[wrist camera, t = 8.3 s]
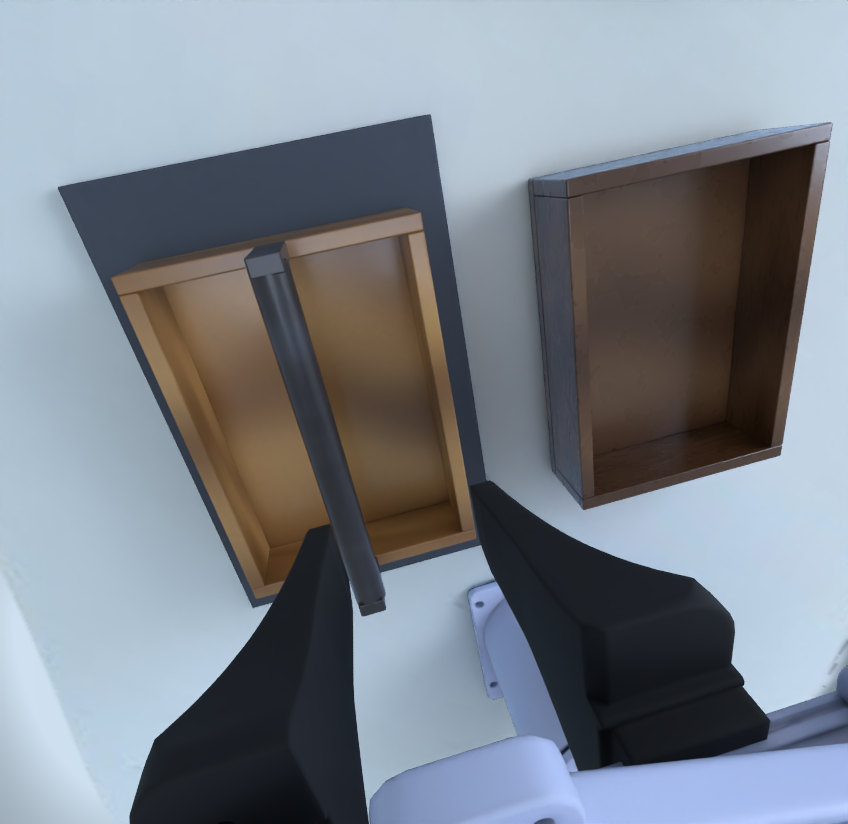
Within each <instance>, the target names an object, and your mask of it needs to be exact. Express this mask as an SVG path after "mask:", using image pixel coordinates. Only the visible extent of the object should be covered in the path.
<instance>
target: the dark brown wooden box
mask: <svg viewBox="0 0 848 824" xmlns="http://www.w3.org/2000/svg"><path fill="white" fill-rule="evenodd" d="M831 131H832V123H831V122H828V123H819V124H810V125H800V126H791V127H782V128H772V129H765V130H764V129H763V130H755V131H751V132H746V133H741V134H737V135H732V136H727V137H723V138H718V139H713V140H709V141H704V142H699V143H695V144H690V145H685V146H681V147H676V148H671V149H667V150H662V151H657V152H653V153H648V154H643V155H639V156H634V157H629V158H625V159H620V160H615V161H611V162H606V163H601V164H597V165H592V166H587V167H583V168H578V169H573V170H569V171H564V172H559V173H555V174H550V175H545V176H541V177H536V178H531V179H529V180H528V182H529V194H530V207H531V219H532V231H533V243H534V255H535V267H536V279H537V292H538V304H539V316H540V328H541V340H542V352H543V364H544V377H545V389H546V401H547V413H548V425H549V437H550V449H551V461H552V471H553V472H554V474H555V475H556V476H557V477H558V479H559V480H560V481H561V483H562V484H563V485H564V486H565V488H566V489H567V490H568V491H569V493H570V494H571V495H572V496H573V498H574V499H575V500H576V501H577V503H578V504H579V505H580V506H581V508H582V509H583V510H586V509H589V508H593V507H597V506H600V505H604V504H607V503H611V502H615V501H618V500H622V499H625V498H629V497H633V496H636V495H640V494H643V493H647V492H651V491H654V490H658V489H661V488H665V487H669V486H672V485H676V484H679V483H683V482H687V481H690V480H694V479H697V478H701V477H705V476H708V475H712V474H715V473H719V472H723V471H726V470H730V469H733V468H737V467H741V466H744V465H748V464H751V463H755V462H758V461H762V460H766V459H769V458H773V457H776V456H780V455H781V449H782V443H783V437H784V430H785V424H786V418H787V411H788V405H789V399H790V392H791V386H792V380H793V373H794V367H795V361H796V354H797V348H798V342H799V335H800V329H801V323H802V316H803V310H804V304H805V297H806V291H807V285H808V278H809V272H810V266H811V259H812V253H813V247H814V240H815V234H816V228H817V221H818V215H819V209H820V202H821V196H822V190H823V183H824V177H825V171H826V164H827V158H828V152H829V145H830V141H829V140H830V137H831Z"/></svg>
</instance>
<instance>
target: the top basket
mask: <svg viewBox="0 0 848 824" xmlns="http://www.w3.org/2000/svg"><path fill="white" fill-rule="evenodd" d="M423 229H424V228H423V222H422V216H421V213H420V212H418V211H415V210H412V209H409V208H407V207H405V208H400V209H395V210H391V211H386V212H381V213H376V214H372V215H367V216H362V217H357V218H352V219H348V220H343V221H338V222H333V223H329V224H324V225H319V226H314V227H310V228H305V229H300V230H295V231H291V232H286V233H281V234H276V235H272V236H267V237H262V238H257V239H253V240H248V241H243V242H238V243H234V244H229V245H224V246H219V247H215V248H210V249H205V250H200V251H196V252H191V253H186V254H181V255H177V256H172V257H167V258H162V259H158V260H153V261H148V262H143V263H140V264H138V265H136V266H134V267H132V268H130V269H128V270H125V271H123V272H121V273H119V274H117V275H115V276H113V277H111V280H112V282H113V285H114V287H115V289H116V291H117V293H118V295H120V300H121V302H122V305H123V307H124V309H125V311H126V313H127V316H128V318H129V320H130V322H131V324H132V327H133V329H134V331H135V333H136V335H137V338H138V340H139V342H140V344H141V346H142V349H143V351H144V353H145V355H146V357H147V360H148V362H149V364H150V366H151V368H152V371H153V373H154V375H155V377H156V379H157V382H158V384H159V386H160V388H161V391H162V393H163V395H164V397H165V399H166V402H167V404H168V406H169V408H170V410H171V413H172V415H173V417H174V419H175V421H176V424H177V426H178V428H179V430H180V432H181V435H182V437H183V439H184V441H185V443H186V446H187V448H188V450H189V452H190V454H191V457H192V459H193V461H194V463H195V465H196V468H197V470H198V472H199V474H200V476H201V479H202V481H203V483H204V485H205V488H206V490H207V492H208V494H209V496H210V499H211V501H212V503H213V505H214V507H215V510H216V512H217V514H218V516H219V518H220V521H221V523H222V525H223V527H224V529H225V532H226V534H227V536H228V538H229V540H230V543H231V545H232V547H233V549H234V551H235V554H236V556H237V558H238V560H239V562H240V565H241V567H242V569H243V571H244V573H245V576H246V578H247V580H248V582H249V584H250V587H251V589H252V591H253V593H254V595H255V597H256V599H258V598H262V597H265V596H269V595H273V594H276V593H279V591H280V589H281V587H282V585H283V583H284V581H285V579H286V577H287V575H288V573H289V571H290V569H291V567H292V565H293V563H294V561H295V559H296V556H297V554H298V552H299V550H300V547H301V545H302V543H303V540H304V538H305V535H306V533H307V532H308V530H309V529H312V528H316V527H320V526H323V525H327V524H330V525H331V528H332V531H333V534H334V537H335V539H336V542H337V545H338V548H339V551H340V554H341V557H342V560H343V563H344V566H345V568H346V571H347V574H348V577H349V581H350V584H351V587H352V590H353V593H354V596H355V599H356V602H357V604H358V605H359V609H360V612H361V615H362V616H367V615H370V614H374V613H377V612H381V611H384V610H386V605H385V589H384V586H383V582H382V579H381V573H380V566H379V565H382V564H386V563H389V562H393V561H397V560H400V559H404V558H408V557H411V556H415V555H419V554H422V553H426V552H430V551H433V550H437V549H441V548H444V547H448V546H451V545H455V544H459V543H462V542H466V541H470V540H473V539H476V532H475V528H474V527H475V526H474V520H473V515H472V509H471V503H470V497H469V491H468V485H467V479H466V474H465V468H464V462H463V456H462V450H461V444H460V439H459V433H458V427H457V421H456V415H455V409H454V403H453V398H452V392H451V386H450V380H449V374H448V368H447V363H446V357H445V351H444V345H443V339H442V333H441V327H440V322H439V316H438V310H437V304H436V298H435V292H434V287H433V281H432V275H431V269H430V263H429V257H428V251H427V246H426V240H425V234H424V231H422V230H423Z"/></svg>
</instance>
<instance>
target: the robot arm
mask: <svg viewBox="0 0 848 824" xmlns="http://www.w3.org/2000/svg"><path fill="white" fill-rule="evenodd" d="M470 491H471V497H472V502H473V508H474V513H475V519H476V524H477V530H478V535H479V541H480V543H481V546H482V549H483V551H484V554H485V557H486V559H487V562H488V565H489V567H490V570H491V572H492V574H493V576H494V578H495V580H496V582H493V583H490V584H486V585H483V586H479V587H476V588H473V589H472V590H470V591H469V593H468V599H469V604H470V609H471V614H472V619H473V625H474V630H475V635H476V640H477V645H478V650H479V655H480V660H481V666H482V671H483V676H484V681H485V686H486V691H487V695H488V697H489V698H490V699H492V700H495V699H499V698H502V697H504V699H505V702H506V704H507V707H508V710H509V713H510V716H511V719H512V721H513V724H514V727H515V730H516V733H517V735H518V736H517V737H511V738H507V739H504V740H501V741H498V742H494V743H491V744H488V745H485V746H482V747H479V748H476V749H472V750H469V751H466V752H463V753H460V754H457V755H453V756H450V757H447V758H444V759H441V760H438V761H435V762H431V763H428V764H425V765H422V766H419V767H416V768H412V769H409V770H406V771H404V772H402V773H400V774H398V775H396V776H394V777H392V778H390V779H388V780H386V781H385V783H384V784H383V785H382V786H381V787H380V788H379V790H378V791H377V792H376V793H375V794H374V795H373V797H372V798H371V799H370V809H369V819H370V824H848V665H847V666H846V667H844V668H843V669H842V670H841V672H840V673H839V675H838V678H837V685H836V691H835V692H832V693H829V694H826V695H823V696H820V697H817V698H814V699H811V700H808V701H805V702H801V703H798V704H795V705H792V706H789V707H786V708H783V709H780V710H777V711H774V712H771V713H768V714H765V713H764V712H763V711H762V710H761V708H760V707H759V706H758V705H757V704H756V702H755V701H754V700H753V699H752V698H751V696H750V695H749V694H748V693H747V692H746V690H745V689H744V688H743V687H742V686H744V679H743V677H742V676H741V674H740V673H739V672H738V671H737V670H736V668H735V667H734V666H733V665H732V664H731V660H732V652H733V644H734V636H735V627H734V621H733V619H732V617H731V615H730V613H729V612H728V611H727V610H726V609H725V608H724V607H723V605H722V604H721V603H720V602H719V601H718V600H717V599H716V598H715V597H714V596H713V595H712V594H711V593H710V592H709V591H708V590H706V589H705V588H704V587H703V586H702V585H701V584H699V583H698V582H697V581H696V580H695V579H694V578H691V577H686V576H682V575H678V574H673V573H669V572H664V571H660V570H656V569H652V568H649V567H645V566H642V565H639V564H635V563H632V562H629V561H626V560H623V559H620V558H618V557H615V556H612V555H610V554H607V553H605V552H602V551H600V550H597V549H595V548H593V547H591V546H588V545H586V544H584V543H582V542H580V541H578V540H576V539H574V538H572V537H570V536H568V535H566V534H565V533H563V532H561V531H559V530H558V529H556V528H554V527H553V526H551V525H550V524H548V523H546V522H545V521H543V520H542V519H540V518H539V517H537V516H536V515H534V514H533V513H532V512H530V511H529V510H527V509H526V508H525V507H523V506H522V505H521V504H519V503H518V502H517V501H515V500H514V499H513V498H511V497H510V496H509V495H508V494H506V493H505V492H504V491H503V490H502V489H500V488H499V487H498V486H497V485H496V484H495V483H493V482H492V481H490V480H489V481H485V482H482V483H478V484H474V485H471V486H470ZM480 601H481V602H480ZM477 602H479V603H477ZM130 824H369V821H368V814H367V806H366V798H365V790H364V783H363V775H362V766H361V758H360V749H359V741H358V732H357V722H356V713H355V704H354V686H353V608H352V600H351V592H350V585H349V577H348V574H347V571H346V568H345V566H344V563H343V560H342V557H341V554H340V551H339V548H338V545H337V542H336V539H335V537H334V534H333V531H332V528H331V525H330V524H327V525H323V526H320V527H316V528H312V529H309V530H308V532H307V533H306V535H305V538H304V540H303V543H302V545H301V547H300V550H299V552H298V554H297V556H296V559H295V561H294V563H293V565H292V567H291V569H290V571H289V573H288V575H287V577H286V579H285V581H284V583H283V585H282V587H281V589H280V591H279V593H278V594H277V596H276V598H275V600H274V601H273V603H272V605H271V607H270V609H269V610H268V612H267V614H266V615H265V617H264V618H263V620H262V621H261V623H260V625H259V626H258V628H257V629H256V630H255V632H254V633H253V635H252V636H251V638H250V639H249V641H248V642H247V643H246V645H245V646H244V647H243V648H242V650H241V651H240V652H239V653H238V655H237V656H236V657H235V658H234V660H233V661H232V662H231V663H230V665H229V666H228V667H227V668H226V669H225V671H224V672H223V673H222V674H221V675H220V676H219V677H218V678H217V680H216V681H215V682H214V683H213V684H212V685H211V686H210V687H209V688H208V689H207V690H206V691H205V692H204V694H203V695H202V696H201V697H200V698H199V699H198V700H197V701H196V702H195V703H194V704H193V705H192V706H191V707H190V708H189V709H188V710H187V711H185V712H184V713H183V714H182V715H181V716H180V717H179V718H178V719H177V720H176V721H175V722H174V723H172V724H171V725H170V726H169V727H168V728H167V729H166V730H165V731H164V732H163V733H162V734H160V735H159V736H158V737H157V738H156V739H155V740H154V743H153V745H152V748H151V750H150V753H149V755H148V758H147V760H146V763H145V766H144V769H143V772H142V775H141V779H140V782H139V785H138V789H137V792H136V795H135V799H134V802H133V805H132V809H131V812H130Z"/></svg>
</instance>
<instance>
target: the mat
mask: <svg viewBox="0 0 848 824" xmlns="http://www.w3.org/2000/svg"><path fill="white" fill-rule="evenodd" d="M58 190H59V192H60V194H61V196H62V198H63V200H64V202H65V205H66V207H67V209H68V211H69V213H70V215H71V218H72V220H73V222H74V224H75V226H76V228H77V230H78V233H79V235H80V237H81V239H82V241H83V243H84V246H85V248H86V250H87V252H88V254H89V256H90V258H91V261H92V263H93V265H94V267H95V269H96V271H97V274H98V276H99V278H100V280H101V282H102V284H103V286H104V289H105V291H106V293H107V295H108V297H109V299H110V301H111V304H112V306H113V308H114V310H115V312H116V314H117V317H118V319H119V321H120V323H121V325H122V327H123V329H124V332H125V334H126V336H127V338H128V340H129V342H130V345H131V347H132V349H133V351H134V353H135V355H136V357H137V360H138V362H139V364H140V366H141V368H142V370H143V373H144V375H145V377H146V379H147V381H148V383H149V385H150V388H151V390H152V392H153V394H154V396H155V398H156V400H157V403H158V405H159V407H160V409H161V411H162V413H163V416H164V418H165V420H166V422H167V424H168V426H169V428H170V431H171V433H172V435H173V437H174V439H175V441H176V444H177V446H178V448H179V450H180V452H181V454H182V456H183V459H184V461H185V463H186V465H187V467H188V469H189V472H190V474H191V476H192V478H193V480H194V482H195V484H196V487H197V489H198V491H199V493H200V495H201V497H202V500H203V502H204V504H205V506H206V508H207V510H208V512H209V515H210V517H211V519H212V521H213V523H214V525H215V527H216V530H217V532H218V534H219V536H220V538H221V540H222V543H223V545H224V547H225V549H226V551H227V553H228V555H229V558H230V560H231V562H232V564H233V566H234V568H235V571H236V573H237V575H238V577H239V579H240V581H241V583H242V586H243V588H244V590H245V592H246V594H247V596H248V599H249V601H250V603H251V605H252V607H253V608H254V607H258V606H262V605H265V604H269V603H272V602H273V601H274V600H275V598H276V596H277V594H278V593H276V594H273V595H269V596H265V597H262V598H258V599H256V597H255V595H254V593H253V591H252V589H251V587H250V584H249V582H248V580H247V578H246V576H245V573H244V571H243V569H242V567H241V565H240V562H239V560H238V558H237V556H236V554H235V551H234V549H233V547H232V545H231V543H230V540H229V538H228V536H227V534H226V532H225V529H224V527H223V525H222V523H221V521H220V518H219V516H218V514H217V512H216V510H215V507H214V505H213V503H212V501H211V499H210V496H209V494H208V492H207V490H206V488H205V485H204V483H203V481H202V479H201V476H200V474H199V472H198V470H197V468H196V465H195V463H194V461H193V459H192V457H191V454H190V452H189V450H188V448H187V446H186V443H185V441H184V439H183V437H182V435H181V432H180V430H179V428H178V426H177V424H176V421H175V419H174V417H173V415H172V413H171V410H170V408H169V406H168V404H167V402H166V399H165V397H164V395H163V393H162V391H161V388H160V386H159V384H158V382H157V379H156V377H155V375H154V373H153V371H152V368H151V366H150V364H149V362H148V360H147V357H146V355H145V353H144V351H143V349H142V346H141V344H140V342H139V340H138V338H137V335H136V333H135V331H134V329H133V327H132V324H131V322H130V320H129V318H128V316H127V313H126V311H125V309H124V307H123V305H122V302H121V300H120V295H118V293H117V291H116V289H115V287H114V285H113V282H112V280H111V277H113V276H115V275H117V274H119V273H121V272H123V271H125V270H128V269H130V268H132V267H134V266H136V265H138V264H140V263H143V262H148V261H153V260H158V259H162V258H167V257H172V256H177V255H181V254H186V253H191V252H196V251H200V250H205V249H210V248H215V247H219V246H224V245H229V244H234V243H238V242H243V241H248V240H253V239H257V238H262V237H267V236H272V235H276V234H281V233H286V232H291V231H295V230H300V229H305V228H310V227H314V226H319V225H324V224H329V223H333V222H338V221H343V220H348V219H352V218H357V217H362V216H367V215H372V214H376V213H381V212H386V211H391V210H395V209H400V208H405V207H407V208H409V209H412V210H415V211H418V212H420V213H421V216H422V222H423V228H424V229H423V230H422V231H424V234H425V240H426V246H427V251H428V257H429V263H430V269H431V275H432V281H433V287H434V292H435V298H436V304H437V310H438V316H439V322H440V327H441V333H442V339H443V345H444V351H445V357H446V363H447V368H448V374H449V380H450V386H451V392H452V398H453V403H454V409H455V415H456V421H457V427H458V433H459V439H460V444H461V450H462V456H463V462H464V468H465V474H466V479H467V485H468V491H469V497H470V503H471V509H472V515H473V520H474V526H475V527H474V528H475V532H476V539H473V540H470V541H466V542H462V543H459V544H455V545H451V546H448V547H444V548H441V549H437V550H433V551H430V552H426V553H422V554H419V555H415V556H411V557H408V558H404V559H400V560H397V561H393V562H389V563H386V564H382V565H379V566H380V573H381V572H385V571H388V570H392V569H395V568H399V567H403V566H406V565H410V564H414V563H417V562H421V561H424V560H428V559H432V558H435V557H439V556H442V555H446V554H450V553H453V552H457V551H461V550H464V549H468V548H471V547H475V546H479V545H481V543H480V541H479V535H478V530H477V524H476V519H475V513H474V508H473V502H472V497H471V491H470V486H471V485H474V484H478V483H482V482H485V481H486V477H485V470H484V463H483V457H482V450H481V444H480V437H479V430H478V424H477V417H476V411H475V404H474V397H473V391H472V384H471V378H470V371H469V365H468V358H467V351H466V345H465V338H464V332H463V325H462V318H461V312H460V305H459V299H458V292H457V285H456V279H455V272H454V266H453V259H452V252H451V246H450V239H449V233H448V226H447V220H446V213H445V206H444V200H443V193H442V187H441V180H440V173H439V167H438V160H437V154H436V147H435V140H434V134H433V127H432V121H431V115H430V114H429V115H424V116H418V117H413V118H408V119H403V120H398V121H393V122H388V123H383V124H378V125H372V126H367V127H362V128H357V129H352V130H347V131H342V132H337V133H332V134H326V135H321V136H316V137H311V138H306V139H301V140H296V141H291V142H286V143H281V144H275V145H270V146H265V147H260V148H255V149H250V150H245V151H240V152H235V153H229V154H224V155H219V156H214V157H209V158H204V159H199V160H194V161H189V162H183V163H178V164H173V165H168V166H163V167H158V168H153V169H148V170H143V171H137V172H132V173H127V174H122V175H117V176H112V177H107V178H102V179H97V180H92V181H86V182H81V183H76V184H71V185H66V186H61V187H58Z"/></svg>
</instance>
